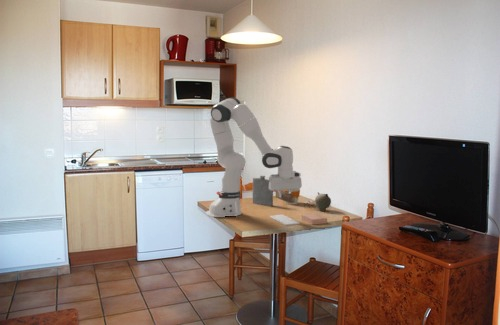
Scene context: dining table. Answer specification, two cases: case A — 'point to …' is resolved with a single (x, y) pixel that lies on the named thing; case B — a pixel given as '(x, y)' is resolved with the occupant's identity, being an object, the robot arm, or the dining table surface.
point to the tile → (314, 219)
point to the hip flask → (262, 192)
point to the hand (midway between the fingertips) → (285, 196)
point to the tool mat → (284, 220)
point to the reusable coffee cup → (294, 192)
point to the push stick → (286, 197)
